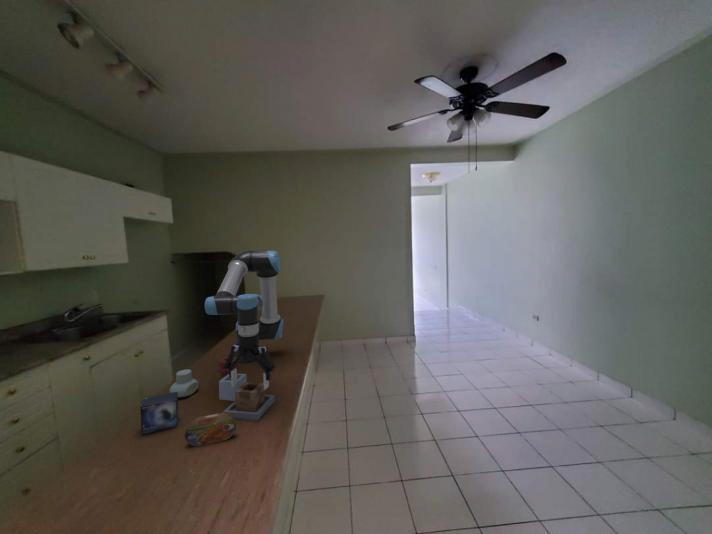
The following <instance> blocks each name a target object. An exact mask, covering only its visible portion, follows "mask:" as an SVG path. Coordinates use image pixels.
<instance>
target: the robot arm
mask: <svg viewBox="0 0 712 534" xmlns="http://www.w3.org/2000/svg"><path fill="white" fill-rule="evenodd" d="M281 266H282V265H281V258H280V255H279V253H278V252H277V251H276V250H246V251H245V250H244V251H243V252H241V253H239V254H237V255H235V256H234V257H233V258H232V259H231V260H230V262H229V263H228V265H227V272H226V274H225V276H224V278H223V280H222V282H221V284H220V287H219V288H218V290H217V293H216V294H215V296H214V295H212V296H208V297H206V298H205V301H204V311H205V313H206V314H207V315H209V316H212V315H214V316H215V315H216V316H219V315H220V316H222V315H237V322H235V323H236V324H235V344H233V345H232V346H230V353H229V355H228V356H229V357H228V359H227V362H226V364H225V366H224V368H225V369H226V368H227V369H229V377H230V378H231V386H232V387H234V386H235V385H236V384H237V374H238V370H237V368H234V367H235V366H236V365H237V364H238V363H240V364H244V363H253V362H255V361H256V363H258V365H259V366H260V367H261V369H262V370H263V376H262V377H263V383H264V390H267V389H268V388H269V387H270V386H269V385H270V380H271V378H272V377H271V373H272V372H273V371H274V370H275V369H276V366H275V364H274V362H273V360H272V357H271V355H270V354H269V352H268V347H267V346H266V345H263V346H260V341H266V340H267V341H269V340H279V339H280V340H281V338H282V335H283V327H284V319H283V318H281V316H280V314H278V313H279V311H278V296H277V282H276V281H277V280H276V278H277V277H278V276H279V273H280V272H281V269H282V268H281ZM248 273H255V275H256V277H257V278H258V279H259V289H260V295H259V294H257V293H244V294H240V295H237V293H238V290H239V287H240V286H241V283H242V281H243V277H244V276H245V275H247V274H248ZM260 311H261V313H262V314H261V316H260V318H259V312H260ZM234 356H236V357H237V358H236V360H235V361H234V362H233V363H232V361H233V359H234ZM231 363H232V365H231Z"/></svg>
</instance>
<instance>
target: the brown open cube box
mask: <svg viewBox="0 0 712 534" xmlns="http://www.w3.org/2000/svg"><path fill="white" fill-rule="evenodd" d="M265 395H266V391H265V390H264V382H251V381H247V382H246V383H244V384H243V385H242V386H241V387H240V388H239V389H237V390H236V391H235V407H236V411H245V412H257V411H258V410H259V408H260V407H261V406H262V405H263V404H264V403H265Z"/></svg>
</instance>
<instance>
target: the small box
mask: <svg viewBox="0 0 712 534" xmlns="http://www.w3.org/2000/svg"><path fill="white" fill-rule="evenodd" d="M139 410H140V427H141V428H140V432H141V433H140V434H141V436H145V435H148V434H152V433H157V432H162V431H165V430H169V429H175V428H178V424H179V418H180V417H179V397H178V392H173V393H170V392H169V393H163V394H159V395H153V396H149V397H143V399H142V401H141V404H140V408H139Z"/></svg>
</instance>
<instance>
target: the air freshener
mask: <svg viewBox="0 0 712 534" xmlns="http://www.w3.org/2000/svg"><path fill="white" fill-rule="evenodd" d="M199 384H200V383H199V381H198V380H197V379H195V378H193V375H192V370H191V369H188V368H187V369H182V370H179V371H177V372H176V373H175V382H174V383H173V384H172V385H171V386H170V387H169V393H173V392H178V398H185V397H189V396H191V395H192V394H194V393H196V391H197V390H198V388H199V386H200V385H199Z"/></svg>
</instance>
